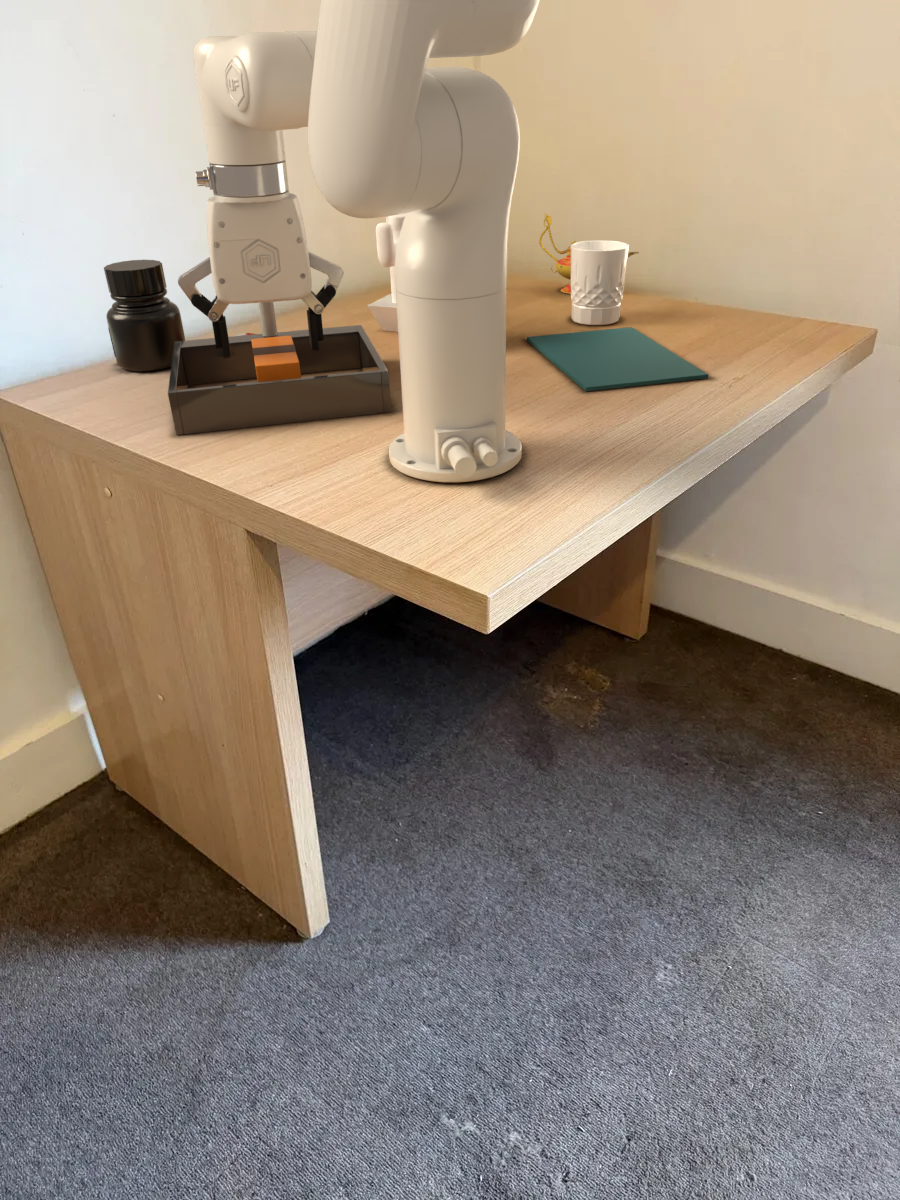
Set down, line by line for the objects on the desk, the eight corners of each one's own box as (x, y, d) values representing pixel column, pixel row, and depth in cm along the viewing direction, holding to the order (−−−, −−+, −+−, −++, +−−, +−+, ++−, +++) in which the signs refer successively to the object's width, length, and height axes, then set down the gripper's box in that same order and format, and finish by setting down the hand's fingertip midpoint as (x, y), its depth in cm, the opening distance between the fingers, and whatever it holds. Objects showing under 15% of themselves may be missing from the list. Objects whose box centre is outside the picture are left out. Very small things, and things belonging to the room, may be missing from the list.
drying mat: (708, 378, 100) (708, 374, 100) (585, 391, 97) (585, 387, 97) (631, 330, 118) (631, 326, 118) (526, 340, 116) (526, 336, 115)
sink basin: (391, 412, 94) (381, 270, 86) (176, 435, 89) (145, 289, 82) (364, 360, 110) (354, 237, 102) (181, 378, 106) (156, 251, 98)
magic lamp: (625, 303, 131) (631, 225, 126) (526, 289, 141) (528, 216, 135) (646, 294, 136) (653, 218, 130) (549, 281, 146) (551, 210, 140)
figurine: (440, 321, 125) (436, 209, 117) (411, 338, 118) (405, 219, 110) (395, 317, 128) (388, 207, 120) (365, 334, 121) (355, 217, 113)
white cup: (631, 316, 125) (637, 242, 119) (609, 329, 119) (614, 252, 114) (581, 310, 128) (585, 238, 123) (558, 322, 123) (560, 248, 117)
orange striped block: (305, 411, 95) (299, 361, 92) (262, 415, 94) (254, 365, 91) (297, 380, 104) (291, 335, 101) (257, 384, 103) (250, 338, 100)
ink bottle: (170, 348, 117) (151, 254, 111) (204, 360, 112) (186, 262, 106) (102, 364, 112) (78, 267, 105) (135, 378, 106) (111, 276, 100)
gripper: (159, 191, 82) (191, 368, 92) (340, 183, 86) (353, 354, 95) (162, 181, 89) (191, 347, 98) (331, 173, 92) (344, 335, 101)
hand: (271, 351), depth 96 cm, fingers open, 9 cm apart
